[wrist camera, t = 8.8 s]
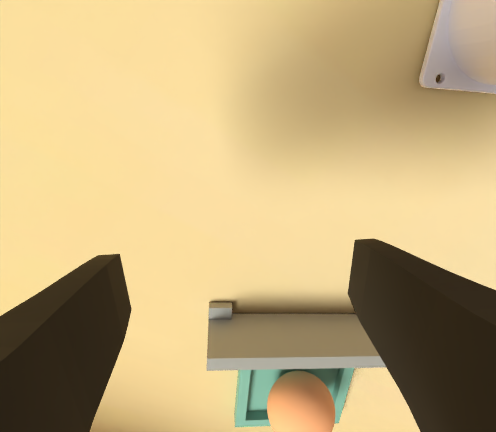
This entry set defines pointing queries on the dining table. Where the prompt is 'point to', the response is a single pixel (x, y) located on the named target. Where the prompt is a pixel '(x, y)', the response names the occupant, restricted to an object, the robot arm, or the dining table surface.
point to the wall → (286, 341)
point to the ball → (300, 404)
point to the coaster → (261, 381)
